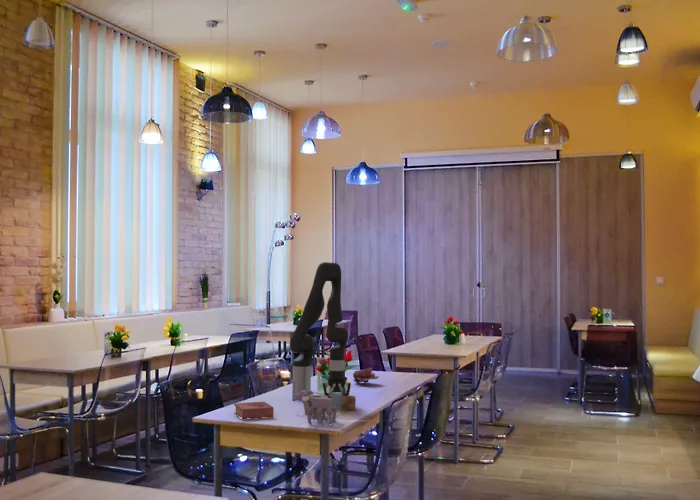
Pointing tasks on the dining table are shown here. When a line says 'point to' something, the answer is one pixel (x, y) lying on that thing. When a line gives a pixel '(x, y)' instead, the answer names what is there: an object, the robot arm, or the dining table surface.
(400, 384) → the dining table surface
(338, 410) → the build board
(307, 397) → the toy sheep
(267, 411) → the book
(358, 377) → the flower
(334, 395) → the grey cube
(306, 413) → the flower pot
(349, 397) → the brown wooden cube
